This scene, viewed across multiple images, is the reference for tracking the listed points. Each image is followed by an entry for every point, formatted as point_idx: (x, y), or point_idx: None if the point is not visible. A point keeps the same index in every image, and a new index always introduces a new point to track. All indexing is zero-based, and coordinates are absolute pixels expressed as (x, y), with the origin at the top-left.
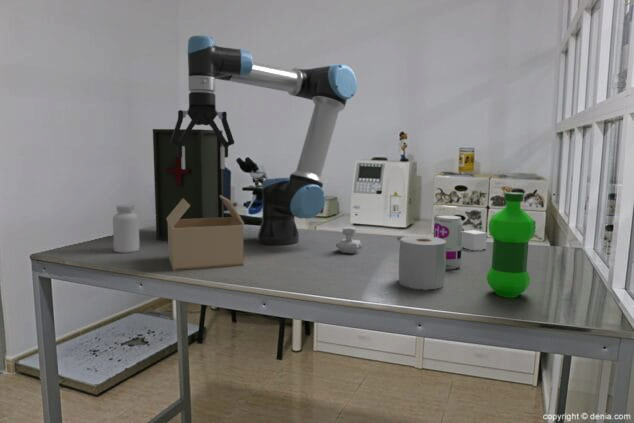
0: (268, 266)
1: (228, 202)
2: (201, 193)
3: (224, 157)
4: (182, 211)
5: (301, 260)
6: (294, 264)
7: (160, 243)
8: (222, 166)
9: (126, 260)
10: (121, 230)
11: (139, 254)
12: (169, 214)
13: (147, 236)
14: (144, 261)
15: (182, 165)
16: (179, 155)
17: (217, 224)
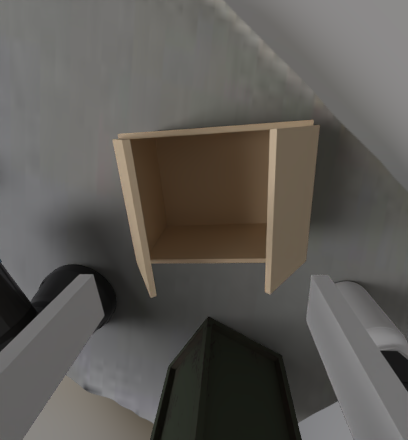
0: (106, 110)
1: (132, 158)
2: (199, 413)
3: (28, 324)
4: (293, 133)
5: (44, 142)
6: (57, 113)
7: (278, 330)
8: (83, 283)
9: (356, 227)
10: (378, 310)
11: (326, 264)
12: (299, 266)
13: (292, 380)
14: (326, 211)
15: (338, 290)
16: (400, 366)
17: (180, 251)
